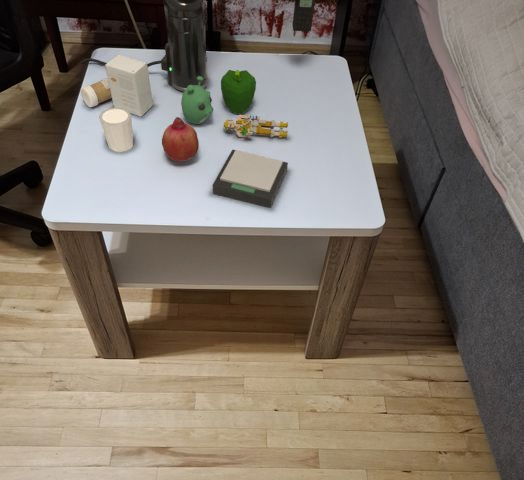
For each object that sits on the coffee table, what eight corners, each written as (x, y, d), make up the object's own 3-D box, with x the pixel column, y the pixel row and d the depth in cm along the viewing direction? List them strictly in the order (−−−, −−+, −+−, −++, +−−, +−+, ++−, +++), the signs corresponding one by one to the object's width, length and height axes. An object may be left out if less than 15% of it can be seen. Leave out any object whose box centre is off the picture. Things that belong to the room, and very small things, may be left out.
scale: (212, 193, 108) (212, 182, 105) (232, 158, 115) (232, 146, 112) (270, 208, 106) (271, 197, 104) (286, 171, 113) (288, 160, 111)
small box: (153, 106, 124) (148, 62, 116) (141, 117, 121) (134, 73, 113) (126, 97, 126) (118, 53, 117) (113, 108, 123) (104, 64, 114)
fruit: (158, 166, 112) (153, 125, 103) (170, 145, 116) (166, 104, 108) (193, 173, 111) (191, 132, 103) (204, 152, 115) (202, 111, 107)
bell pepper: (231, 95, 129) (231, 54, 121) (259, 104, 127) (261, 64, 119) (214, 111, 125) (213, 70, 116) (244, 121, 123) (245, 80, 115)
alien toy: (204, 134, 119) (202, 93, 111) (177, 124, 121) (173, 83, 112) (219, 120, 123) (218, 79, 114) (192, 110, 124) (190, 69, 116)
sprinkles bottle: (136, 92, 128) (91, 112, 123) (125, 78, 128) (79, 97, 123) (138, 79, 124) (91, 98, 119) (126, 64, 124) (79, 83, 119)
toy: (287, 138, 117) (223, 132, 115) (284, 145, 122) (222, 139, 120) (289, 115, 116) (224, 108, 115) (286, 123, 122) (224, 116, 120)
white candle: (130, 155, 113) (124, 127, 107) (100, 150, 114) (93, 122, 108) (140, 138, 117) (135, 109, 111) (111, 133, 117) (105, 104, 112)
